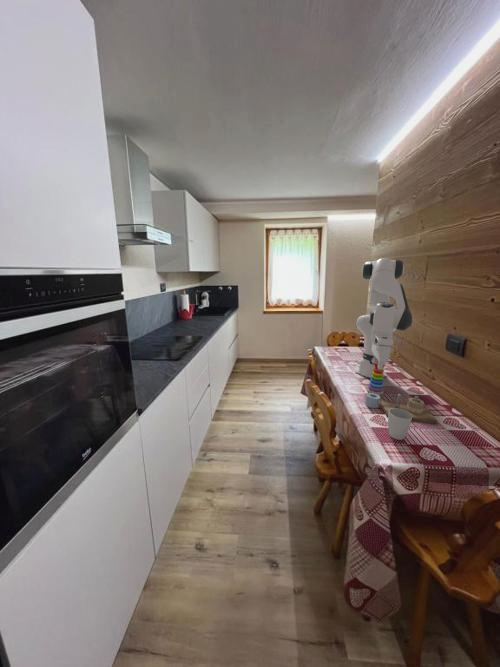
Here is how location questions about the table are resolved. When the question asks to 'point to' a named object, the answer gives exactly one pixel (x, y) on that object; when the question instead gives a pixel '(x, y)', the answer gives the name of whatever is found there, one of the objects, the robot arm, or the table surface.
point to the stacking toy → (376, 381)
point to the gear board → (414, 416)
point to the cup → (398, 423)
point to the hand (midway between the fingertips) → (377, 366)
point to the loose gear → (372, 400)
